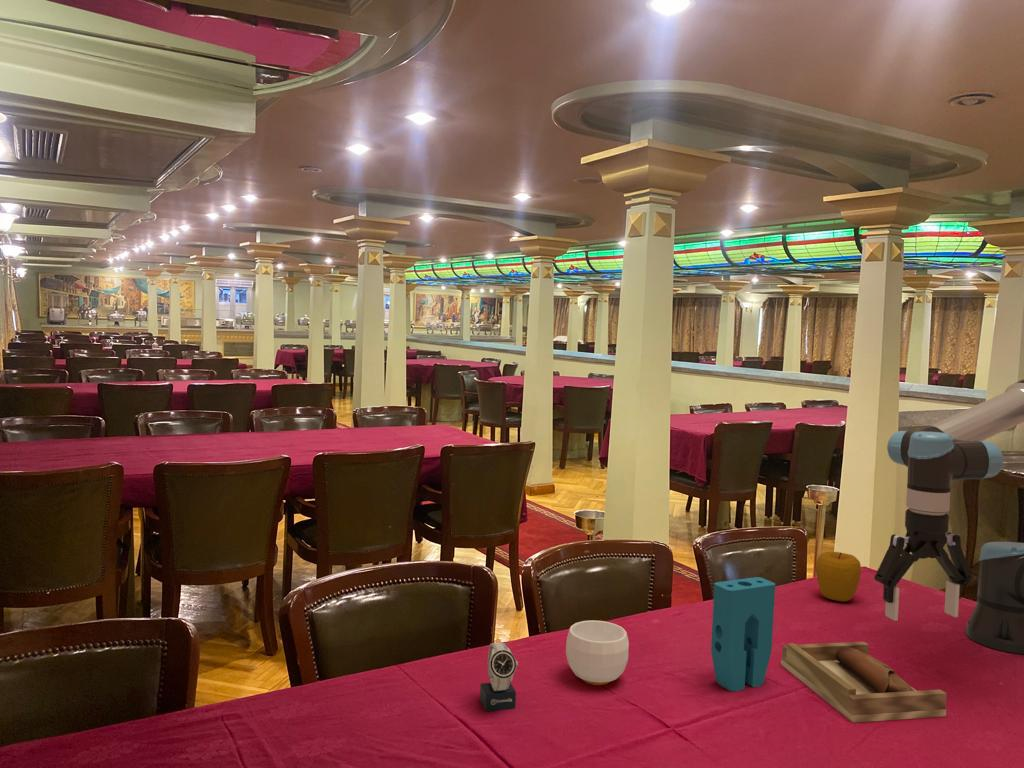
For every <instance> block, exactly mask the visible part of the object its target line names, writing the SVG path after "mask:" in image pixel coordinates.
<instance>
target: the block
mask: <svg viewBox="0 0 1024 768" xmlns="http://www.w3.org/2000/svg"><path fill="white" fill-rule="evenodd" d="M775 597H776V583H775V582H772V581H771V580H768V579H765V578H763V577H759V576H758V577H757V576H755V577H747V578H740V579H733V580H732V579H731V580H725V581H724V580H723V581H717V582H714V585H713V599H712V600H713V602H712V603H713V604H712V620H711V621H712V623H711V643H710V653H711V659H712V665H713V670H714V675H715V680H716V681H715V682H716V683H717V684H718V685H720V686H721V687H723V688H725V689H726V690H728V691H729V692H738V691H743V690H745V687H746V685H748V686H750V687H752V688H757V687H761V686H764V682H765V680H766V679H765V678H766V675H767V671H768V666H769V663H770V658H771V654H772V652H773V651H772V649H773V631H774V614H775ZM745 684H746V685H745Z"/></svg>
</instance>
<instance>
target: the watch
mask: <svg viewBox="0 0 1024 768" xmlns="http://www.w3.org/2000/svg"><path fill="white" fill-rule="evenodd" d="M487 654H488V656H487V675H488V678H489V679H488V680H490V682H482V683H479V684H480V686H479V694H480V695H479V701H480V703H481V706H482V707H483V709H484V711H485V712H494V711H502V710H510V709H511V710H513V709H516V702H517V701H516V699H517V698H516V696H517V695H516V694H517V691H516V689H515V688H514V686H513V684H512V683H511V682H512V681H513V678H514V674H515V672H516V671H517V666H519V662H518V660H517V659H516V658H515V656H514V654H513V653H512V651H511V650H510V648H509V647H508V646H507V644H505V642H493V643H489V645H488V653H487Z"/></svg>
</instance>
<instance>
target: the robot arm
mask: <svg viewBox="0 0 1024 768" xmlns="http://www.w3.org/2000/svg"><path fill="white" fill-rule="evenodd" d="M1023 423H1024V378H1023V379H1020V380H1019V381H1017V382H1014V383H1012V384H1010V385H1009V386H1007V387H1006V389H1005V390H1004V392H1002V393H1000V394H999V395H996V396H994V397H992V398H990V399H987V400H984V401H983V402H980V403H978V404H976V405H974V406H971V407H969V408H967V409H965V410H962V411H960V412H958V413H955V414H953V415H951V416H948V417H947V418H945V419H941V420H939V421H937V422H935V423H932V424H930V425H929V426H927V427H924V428H922V429H920V430H916V431H911V430H900V431H899V430H898V431H896V432H894V433H893V434H892V435H891V436H890V438H889V439H888V442H887V445H886V446H887V447H886V448H887V454H888V456H889V458H890V460H891V461H892V462H894V463H896V464H900V465H903V466H904V467H907V479H906V480H907V481H906V482H907V483H906V484H907V485H906V498H905V500H906V501H905V505H906V507H907V509H906V510H905V514H904V515H905V517H904V527H905V530H906V534H905V536H900V535H898V534H894V533H893V534H891V536H890V541H889V546H888V549H887V550H886V552H885V554H884V557H883V558H882V561H881V563H880V565H879V567H878V569H877V571H876V573H875V574H874V580H875V581H876V582H878V583H880V584H882V585H883V590H882V591H883V593H882V594H883V595H882V599H883V601H884V602H885V608H884V609H885V610H884V611H885V612H884V613H885V615H884V616H885V617H886V618H889V619H891V620H892V621H899V620H898V619H899V605H900V604H899V603H900V602H899V601H900V587H898V586H897V584H899V582H900V581H901V579H902V578H903V577H904V576H905V575H906V573H907V572H908V571H909V569H910V568H911V567H912V566H913V565H914V563H915V562H918V561H919V559H923V560H924V559H928V558H930V559H936V561H937V562H938V564H939V565H940V567H941V568H942V569H943V571H944V573H946V575H947V577H948V578H949V580H946V581H945V598H944V614H947V615H949V616H952V617H953V618H959V606H960V605H959V604H960V603H959V602H960V600H961V599H962V595H963V594H962V593H963V591H962V590H963V586H967V584H968V581H972V580H973V575H972V572H971V569H970V567H969V564H968V561H967V559H966V556H965V553H964V552H963V548H962V543H961V540H962V539H961V536H960V535H959V534H955V533H953V532H950V531H949V524H950V523H949V522H950V516H949V514H948V513H949V512H950V510H951V508H950V507H951V506H950V505H951V489H952V488H951V487H952V481H954V480H956V481H957V480H960V481H961V480H984V479H988V478H989V479H990V478H993V477H995V476H997V475H998V474H999V473H1000V472H1001V471H1002V469H1003V466H1004V455H1003V452H1002V450H1001V449H1000V448H999V447H998V446H997V445H996V444H995V443H993V442H991V441H987V439H990V438H992V437H994V436H996V435H998V434H1001V433H1003V432H1006V431H1007V430H1009V429H1012V428H1013V427H1016V426H1018V425H1020V424H1023ZM948 531H949V532H948ZM945 546H946V547H947V550H948V552H949V554H950V555H949V554H948V553H947V551H946V549H945V548H944V547H945ZM980 550H981V551H980V557H979V559H978V580H977V583H978V584H977V597H976V604H975V606H974V608H973V610H972V613H971V616H970V619H969V620H968V621H967V622H966V629H965V630H966V631H965V634H966V636H967V638H968V639H970V640H972V641H974V642H975V643H977V644H980V645H982V646H985V647H987V648H990V649H994V650H997V651H1000V652H1001V651H1002V652H1005V653H1006V652H1007V653H1010V654H1011V653H1013V654H1020V655H1024V542H1014V541H989V542H986V543H984V544H983V545H982V546H981V549H980ZM949 556H950V557H949ZM950 558H951V559H950Z"/></svg>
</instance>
